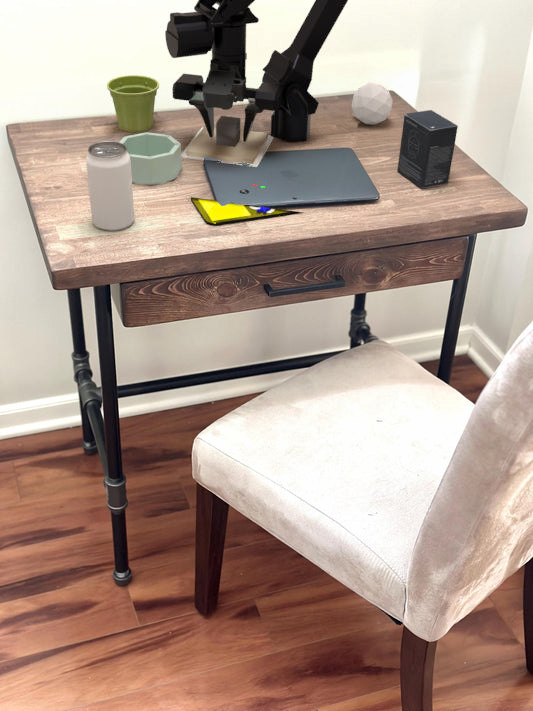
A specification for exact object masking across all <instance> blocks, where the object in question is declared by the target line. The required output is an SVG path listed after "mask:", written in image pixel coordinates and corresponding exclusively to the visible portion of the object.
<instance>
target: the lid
mask: <svg viewBox="0 0 533 711" xmlns="http://www.w3.org/2000/svg"><path fill="white" fill-rule="evenodd" d="M203 127H204V128H203V129H202V131H201V132H200V133H199V135H198V136H197V137H196V139H195V140H194V141H193V143H192V144H191V145H190V147H189V148H188V149H187V151H186V155H187V156H195V157H203V158H204V157H209V158H213V159H219V160H226V161H234V162H241V163H242V162H243V163H249V164H253V163H254V161H255V159H256V157H257V156H258V154H259V152H260V151H261V149H262V147H263V145H264V144H265V142H266V140H267V139H268V135H269V133H268V132H267V133H266V132H260V131H252V130H250V132H249V135H248V138H247V140H246V142H244V141H243V131H244V129H241V117H234V116H233V117H232V116H226V115H221V116H220V117H219V118H218V119H217V121H216V123H215V126H214V135H213V137H210V136H209V134H208V131H207V128H206V126H203Z"/></svg>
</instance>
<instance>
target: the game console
mask: <svg viewBox="0 0 533 711" xmlns="http://www.w3.org/2000/svg"><path fill="white" fill-rule="evenodd" d="M257 186H258V185H257V184H253V187H257ZM260 188H261V189H265V188H266V186H264V185H261V186H260ZM249 193H250V190H248V189H241V190H240V191H239V194H243V195H246V194H249ZM297 199H298V198H297V197H292V200H297ZM217 201H218V200H215V199H208V198H202V197H201V198H200V197H193V196H190V202H191V203H192V205H193V206H194V208H195V209H196V211H197V213H198V214H199V215H200V217H201V218H202V220H203V222H204V223H205V225H208V226H212V227H217V226H218V227H219V226H227V225H233V224H238V223H239V224H240V223H246V222H253V221H260V220H267V219H273V218H280V217H285V216H292V215H299V214H300V215H301V214H304V212H302V211H294V210H288V209H281V208H273V207H265V206H262V205H261V206H259V205H251V204H245V205H236V204H235V203H236V202H230V203H231V204H227V205H225V206H221V205H220V204H219V203H218V202H217Z"/></svg>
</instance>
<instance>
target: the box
mask: <svg viewBox="0 0 533 711" xmlns="http://www.w3.org/2000/svg"><path fill="white" fill-rule="evenodd" d="M402 123H403V124H402V131H401V140H400V149H399V155H398V156H399V157H398V162H397V173H399V174H401V175H402V176H403V177H405V178H406V179H408V180H409V181H410V182H412V183H413V184H415V185H416V186H418V187H419V188H420V189H429V188H434V187H439V186H446V185H448V183H449V179H450V173H451V168H452V162H453V156H454V151H455V150H454V149H455V145H456V138H457V133H458V129H459V126H458V125H457V124H456V123H454V122H452V121H450V120H449V119H448V118H445V117H444V116H442V115H440V114H438V113H437V112H436V111H434V110H432V109H429V110H421V111H416V112H409V113H405V114H404V117H403V122H402Z"/></svg>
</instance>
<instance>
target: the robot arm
mask: <svg viewBox="0 0 533 711" xmlns="http://www.w3.org/2000/svg"><path fill="white" fill-rule="evenodd" d="M255 1H256V0H198V1H197V2H196V4H195V5H194V9H193V10H194V11H190V12H171V13H170V14H169V21H168V22H167V25H166V30H165V32H164V34H165V44H166V49H167V51H168V53H169V56H170V57H171V58H173V59H179V58H186V57H193V56H202V55H204V56H205V55H207V54H208V53H209V52H211V59H210V64H209V71H208V74H207V76H206V78H205V82H204V77H203V76H202V75H200V74H192V73H182V74H181V76H179V78H178V79H176V81H175V82H174V83H172V98H173V99H174V100H180V101H188V104H189V105H190V106H194V108H195V109H197V110H198V112H199V114H200V115H201V118H202V120H203V122H204V125H205V126H206V128H207V131H208V134H209V136H210V137H213V135H214V127H215V110H214V108H215V109H222V110H223V111H224V110H225V111H227V110H230V109H232V107H233V106H234V103H237V102H242V103H243V102H244V101H245V100H247V102H248V104H247V106H246V107H245V108H244V114H245V115H244V124H243V130H244V131H243V141H244V142H246V140H247V138H248V135H249V132H250V131H252V130H251V129H252V127H253V124H254V121H255V119H256V116H257V115H258V114H262V113H263V112H264V111H273V113H272V114H271V116H270V135H271V136H272V137H274V138H273V139H278V140H280V141H283V142H284V143H285V142H287V143H300V142H305V143H306V142H307V141H308V139H309V137H310V132H311V121H312V120H311V119H312V117H311V116H312V115H315V114H316V113H317V112H316V111H317V109H318V106H319V101H318V100H317V99H316V98H314V96H313V95H312V94H311V93H310V92H309V88H310V86H311V83H312V80H313V72H314V71H313V69H314V62H315V59H316V58H317V57H318V55H319V53H320V51H321V49H322V47H323V46H324V43H325V42H326V40H327V39H328V37H329V35H330V33H331V32H332V29H333V28H334V26H335V24H336V22H337V21H338V19H339V17H340V16H341V13H342V12H343V10H344V8H345V6H346V4H348V1H349V0H314V2H313V4H312V6H311V8H310V10H309V12H308V13H307V15H306V17H305V19H304V21H303V23H302V24H301V26H300V28H299V29H298V31H297V33H296V35H295V37H294V38H293V41H292V42H291V44H290V45H289V47H287V48H286V49H285V50H284V51H282V52H279V51H278V50H276V49H274V50H273V51H272V53H271V56H270V58H269V60H268V63H267V64H266V66H264V67H263V68H262V71H263V72H264V73H263V76H262V78H261V84H260V86H259V87H258V88H255V87H247V76H246V64H247V63H246V61H247V57H248V56H247V55H248V53H247V25H248V24H257V23H258V22H259V21H260V20H259V19H260V18H258V17H257V16H256V15H255V14H254V13H253V12H252V10H251V8H250V7H249V6H251V5H252V4H253V3H254V2H255ZM215 5H218V7H217V8H216V7H214V6H215ZM205 126H204V127H205Z"/></svg>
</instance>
